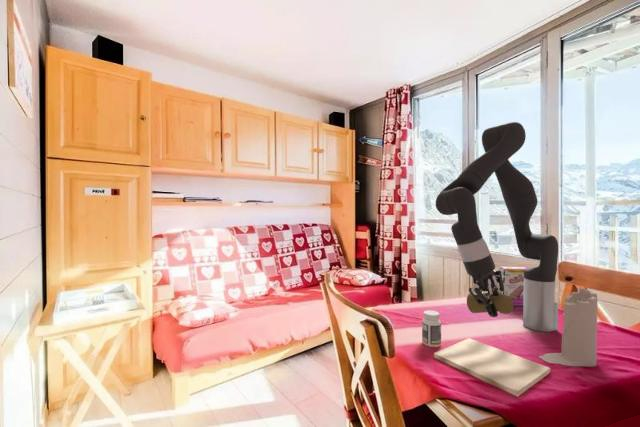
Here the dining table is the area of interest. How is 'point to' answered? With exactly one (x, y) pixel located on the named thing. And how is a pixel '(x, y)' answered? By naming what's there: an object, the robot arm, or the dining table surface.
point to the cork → (500, 302)
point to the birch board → (493, 365)
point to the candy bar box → (513, 283)
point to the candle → (578, 331)
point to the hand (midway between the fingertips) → (497, 312)
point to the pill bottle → (431, 329)
